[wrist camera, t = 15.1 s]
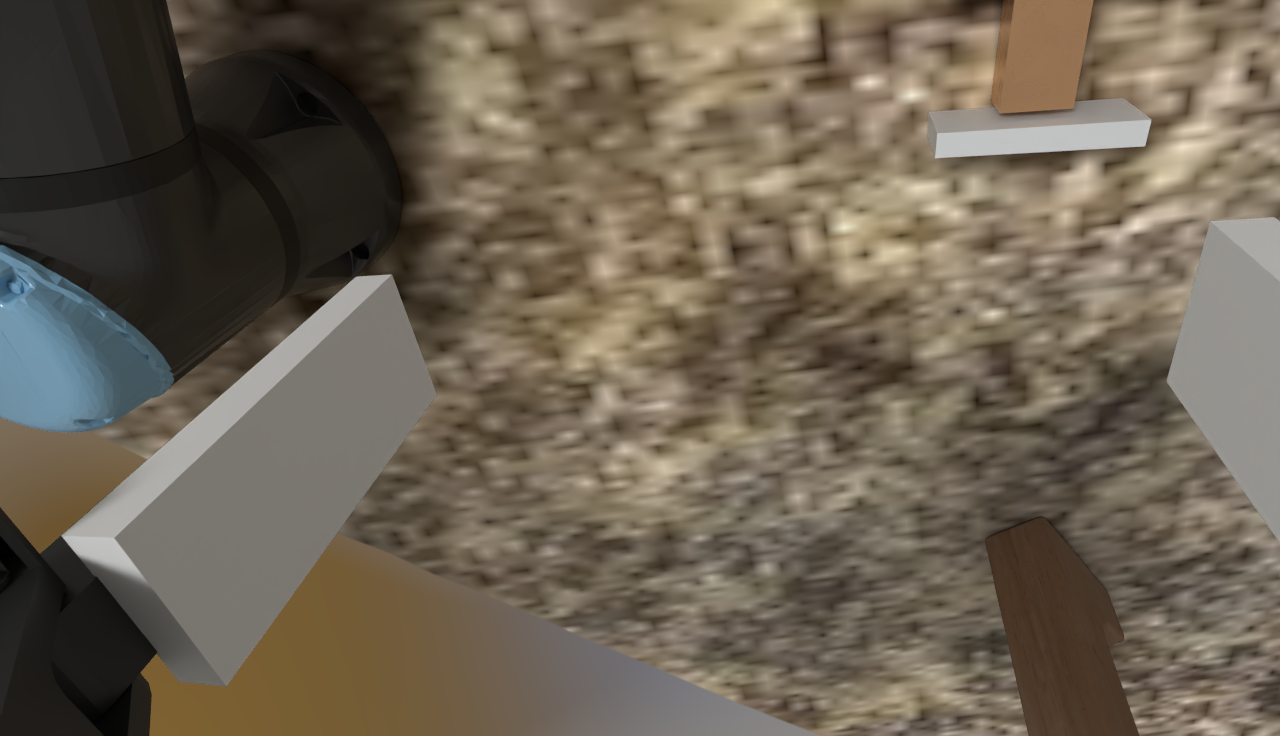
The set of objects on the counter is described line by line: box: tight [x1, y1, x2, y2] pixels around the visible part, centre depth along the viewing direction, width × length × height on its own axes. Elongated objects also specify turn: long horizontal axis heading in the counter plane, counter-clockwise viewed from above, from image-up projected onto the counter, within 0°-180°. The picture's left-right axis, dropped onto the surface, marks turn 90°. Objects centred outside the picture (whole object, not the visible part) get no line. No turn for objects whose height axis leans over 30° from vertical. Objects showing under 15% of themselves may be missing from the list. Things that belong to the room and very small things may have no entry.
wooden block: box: [985, 517, 1139, 736], centre depth 46 cm, size 9×4×18 cm, turn 45°
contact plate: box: [991, 0, 1094, 114], centre depth 34 cm, size 3×5×2 cm, turn 8°
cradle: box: [927, 98, 1151, 158], centre depth 34 cm, size 9×9×4 cm
